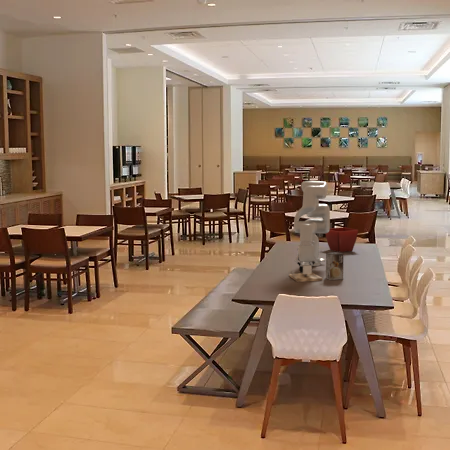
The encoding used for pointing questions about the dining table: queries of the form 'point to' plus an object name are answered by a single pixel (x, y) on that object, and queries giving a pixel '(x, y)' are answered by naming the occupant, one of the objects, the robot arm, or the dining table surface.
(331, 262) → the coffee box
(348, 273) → the dining table surface
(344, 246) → the plant pot
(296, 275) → the pin plate
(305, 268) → the jaw block
